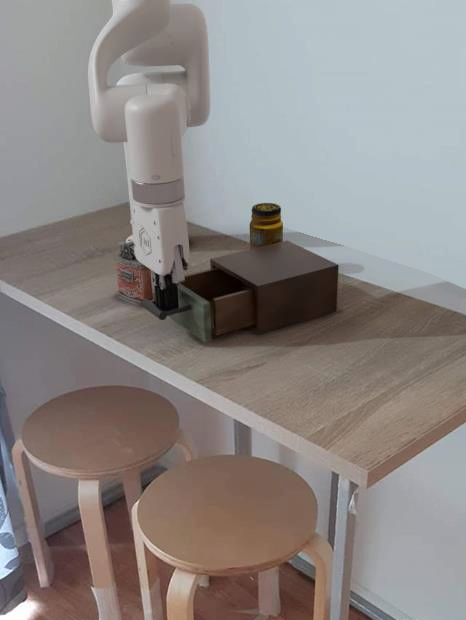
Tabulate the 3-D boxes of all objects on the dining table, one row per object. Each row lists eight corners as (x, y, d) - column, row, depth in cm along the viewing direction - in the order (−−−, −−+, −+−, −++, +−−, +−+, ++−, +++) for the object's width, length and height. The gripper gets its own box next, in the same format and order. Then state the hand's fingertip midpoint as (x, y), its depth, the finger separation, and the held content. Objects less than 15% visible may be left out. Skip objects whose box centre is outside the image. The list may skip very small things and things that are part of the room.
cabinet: (258, 334, 131) (257, 286, 126) (211, 304, 141) (209, 258, 136) (336, 311, 137) (338, 264, 133) (286, 284, 148) (287, 240, 143)
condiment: (292, 272, 152) (293, 207, 145) (254, 283, 148) (253, 216, 142) (269, 261, 157) (269, 198, 150) (232, 271, 154) (230, 206, 147)
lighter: (113, 296, 145) (107, 240, 139) (128, 290, 147) (122, 235, 141) (144, 308, 141) (139, 251, 135) (159, 302, 143) (154, 245, 137)
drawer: (172, 352, 124) (169, 313, 121) (133, 322, 134) (129, 285, 130) (282, 320, 133) (283, 283, 129) (239, 294, 142) (238, 258, 139)
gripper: (112, 182, 122) (125, 299, 132) (159, 208, 111) (168, 332, 122) (157, 173, 125) (166, 288, 135) (207, 198, 114) (212, 320, 125)
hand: (167, 309), depth 129 cm, fingers closed
